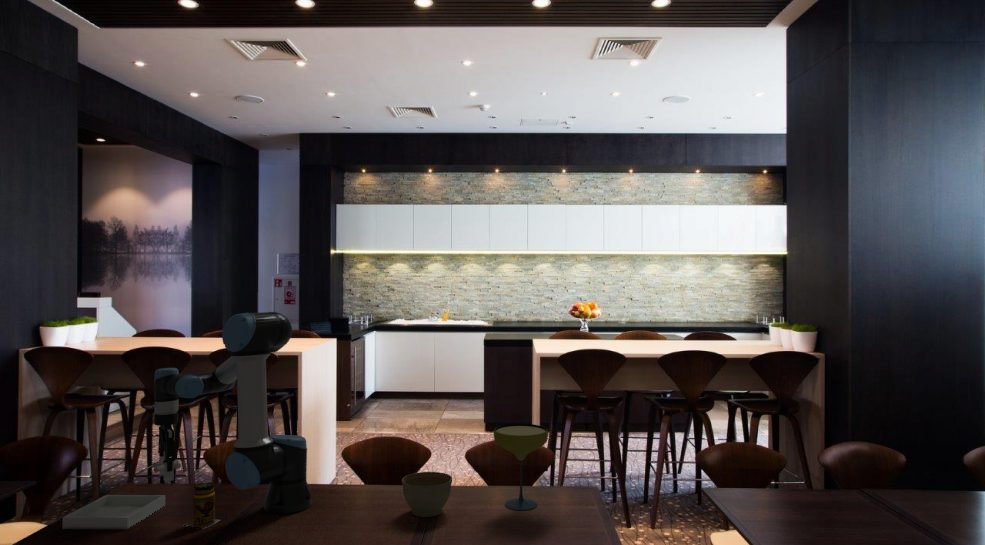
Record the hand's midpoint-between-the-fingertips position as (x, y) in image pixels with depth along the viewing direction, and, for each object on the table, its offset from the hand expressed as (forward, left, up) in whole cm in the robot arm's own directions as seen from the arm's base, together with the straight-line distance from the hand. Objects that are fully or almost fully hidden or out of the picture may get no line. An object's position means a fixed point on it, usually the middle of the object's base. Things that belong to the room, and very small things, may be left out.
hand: (166, 477), depth 211 cm
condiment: (-35, -4, -7) cm, 35 cm away
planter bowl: (-71, -63, -7) cm, 95 cm away
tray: (-12, +16, -6) cm, 21 cm away
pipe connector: (0, 0, -1) cm, 1 cm away
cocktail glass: (-85, -91, -7) cm, 124 cm away
